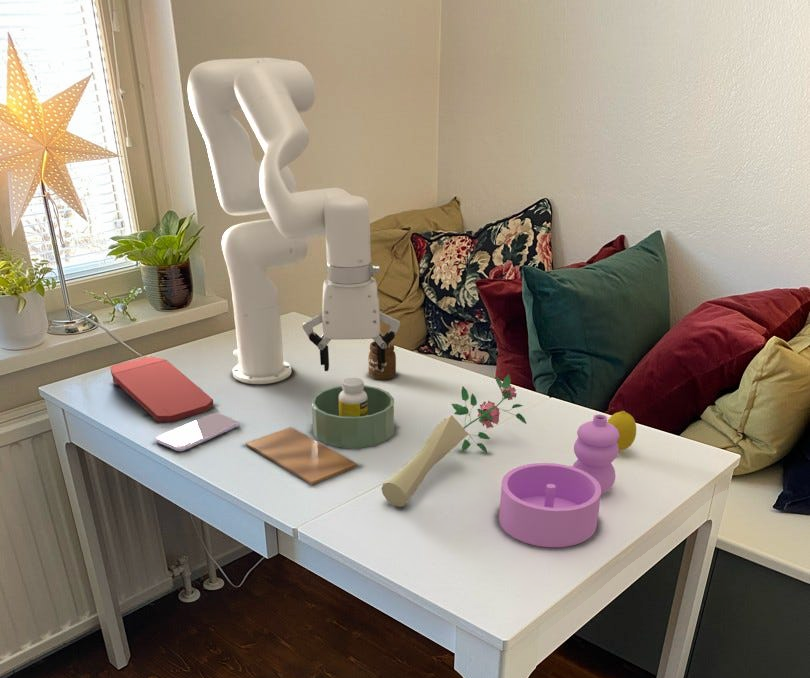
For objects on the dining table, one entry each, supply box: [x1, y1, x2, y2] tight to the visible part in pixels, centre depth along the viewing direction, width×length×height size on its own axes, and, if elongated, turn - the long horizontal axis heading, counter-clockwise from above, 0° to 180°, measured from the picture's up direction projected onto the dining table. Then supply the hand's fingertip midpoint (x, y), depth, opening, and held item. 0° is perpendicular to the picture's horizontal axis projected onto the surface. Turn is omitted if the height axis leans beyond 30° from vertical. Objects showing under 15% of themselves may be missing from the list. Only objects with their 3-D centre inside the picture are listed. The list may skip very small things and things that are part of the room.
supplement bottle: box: [339, 377, 368, 417], centre depth 164 cm, size 5×5×10 cm
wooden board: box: [245, 427, 358, 486], centre depth 158 cm, size 20×10×1 cm, turn 42°
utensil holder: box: [367, 327, 397, 381], centre depth 187 cm, size 6×6×12 cm
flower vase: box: [381, 374, 527, 508], centre depth 153 cm, size 12×12×35 cm
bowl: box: [311, 384, 395, 449], centre depth 165 cm, size 15×15×6 cm
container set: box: [498, 414, 620, 548], centre depth 139 cm, size 25×15×13 cm, turn 140°
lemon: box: [607, 410, 637, 452], centre depth 157 cm, size 6×6×8 cm
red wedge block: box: [109, 355, 214, 423], centre depth 179 cm, size 12×5×25 cm
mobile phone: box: [155, 412, 240, 452], centre depth 165 cm, size 8×1×15 cm
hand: (353, 367), depth 160 cm, fingers open, 9 cm apart
